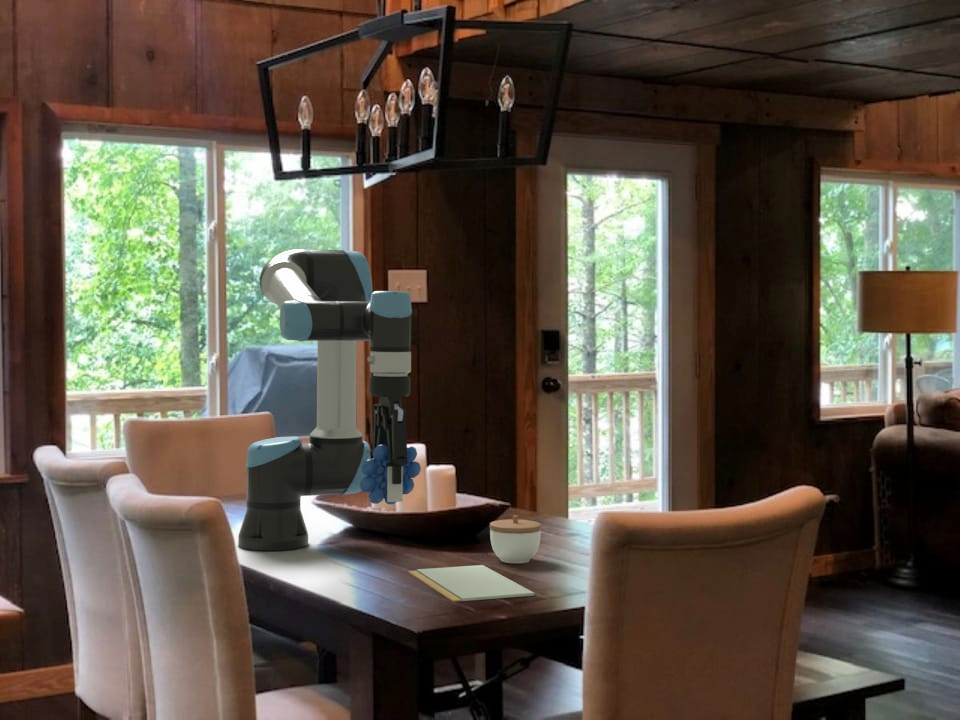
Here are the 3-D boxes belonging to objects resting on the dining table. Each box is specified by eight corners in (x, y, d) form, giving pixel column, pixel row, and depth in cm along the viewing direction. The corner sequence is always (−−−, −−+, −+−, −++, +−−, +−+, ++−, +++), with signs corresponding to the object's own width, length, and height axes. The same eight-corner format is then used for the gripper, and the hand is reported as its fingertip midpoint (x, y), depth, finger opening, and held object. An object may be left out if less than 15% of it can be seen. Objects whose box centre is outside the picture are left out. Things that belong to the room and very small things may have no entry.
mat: (416, 571, 247) (416, 569, 247) (482, 567, 252) (482, 565, 252) (462, 601, 223) (462, 598, 223) (534, 595, 228) (534, 592, 228)
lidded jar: (541, 566, 254) (542, 520, 254) (489, 565, 255) (489, 519, 254) (540, 555, 265) (540, 512, 265) (489, 555, 265) (490, 511, 265)
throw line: (408, 572, 247) (408, 571, 247) (415, 572, 247) (415, 570, 247) (453, 601, 222) (453, 600, 222) (460, 601, 223) (461, 599, 223)
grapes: (413, 499, 237) (413, 436, 236) (424, 505, 231) (425, 440, 230) (353, 502, 233) (354, 438, 232) (363, 508, 226) (364, 442, 226)
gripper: (356, 371, 238) (355, 491, 239) (385, 377, 220) (384, 507, 221) (394, 371, 241) (393, 490, 242) (426, 377, 223) (424, 505, 224)
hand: (389, 498), depth 232 cm, fingers closed on grapes, 7 cm apart
